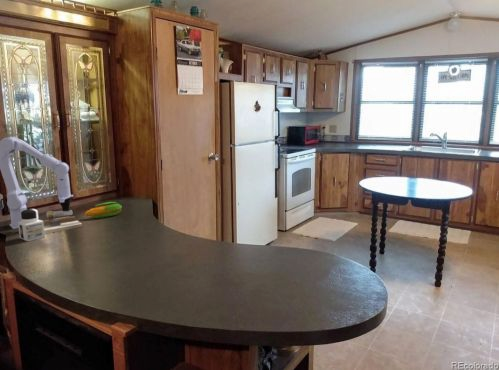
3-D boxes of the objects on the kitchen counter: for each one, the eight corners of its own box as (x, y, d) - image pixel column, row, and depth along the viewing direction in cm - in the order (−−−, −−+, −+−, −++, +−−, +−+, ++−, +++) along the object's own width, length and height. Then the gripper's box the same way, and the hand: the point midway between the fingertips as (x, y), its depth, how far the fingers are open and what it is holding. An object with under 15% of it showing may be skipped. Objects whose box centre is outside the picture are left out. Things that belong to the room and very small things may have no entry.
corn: (123, 200, 211) (86, 207, 198) (125, 214, 212) (88, 221, 199) (118, 199, 217) (81, 205, 203) (119, 212, 218) (83, 219, 205)
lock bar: (46, 217, 191) (46, 212, 191) (47, 216, 194) (46, 211, 194) (72, 215, 195) (71, 210, 194) (72, 213, 198) (72, 209, 197)
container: (27, 241, 169) (23, 213, 166) (19, 238, 173) (16, 210, 171) (45, 237, 175) (42, 209, 172) (37, 234, 179) (34, 206, 177)
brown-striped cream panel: (34, 225, 193) (33, 217, 193) (70, 219, 204) (69, 211, 204) (44, 234, 179) (43, 225, 178) (82, 226, 190) (81, 218, 189)
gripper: (69, 189, 188) (72, 216, 191) (74, 184, 202) (77, 209, 204) (53, 190, 186) (56, 217, 189) (60, 184, 200) (62, 210, 203)
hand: (66, 213), depth 197 cm, fingers closed, pressing on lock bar
